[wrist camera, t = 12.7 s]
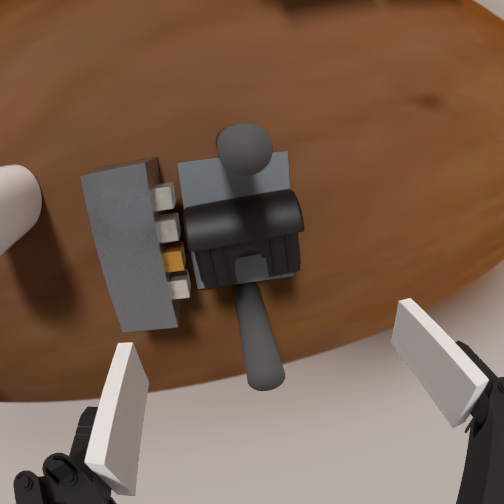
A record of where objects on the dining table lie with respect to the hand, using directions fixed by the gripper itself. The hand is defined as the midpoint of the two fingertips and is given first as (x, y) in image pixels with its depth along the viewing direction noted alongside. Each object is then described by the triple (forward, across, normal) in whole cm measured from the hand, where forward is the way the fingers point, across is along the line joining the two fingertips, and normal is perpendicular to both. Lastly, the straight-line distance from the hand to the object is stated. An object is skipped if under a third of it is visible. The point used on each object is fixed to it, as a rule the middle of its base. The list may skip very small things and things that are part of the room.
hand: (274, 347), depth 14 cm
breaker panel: (+20, -10, 0) cm, 23 cm away
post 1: (+20, 0, +8) cm, 22 cm away
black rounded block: (+20, 0, 0) cm, 20 cm away
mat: (+20, 0, 0) cm, 20 cm away
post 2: (+20, 0, -8) cm, 22 cm away
